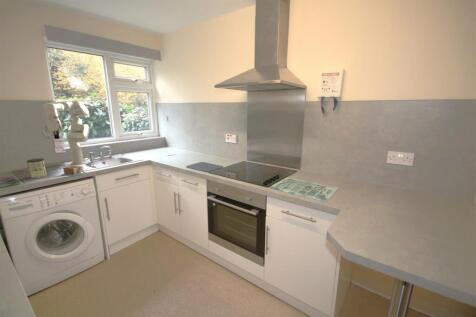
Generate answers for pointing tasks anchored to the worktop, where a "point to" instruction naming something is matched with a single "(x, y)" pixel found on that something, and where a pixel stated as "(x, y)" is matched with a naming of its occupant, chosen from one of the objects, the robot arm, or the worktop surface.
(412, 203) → the worktop surface
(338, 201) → the worktop surface
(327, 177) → the worktop surface
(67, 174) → the mat
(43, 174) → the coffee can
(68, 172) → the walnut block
